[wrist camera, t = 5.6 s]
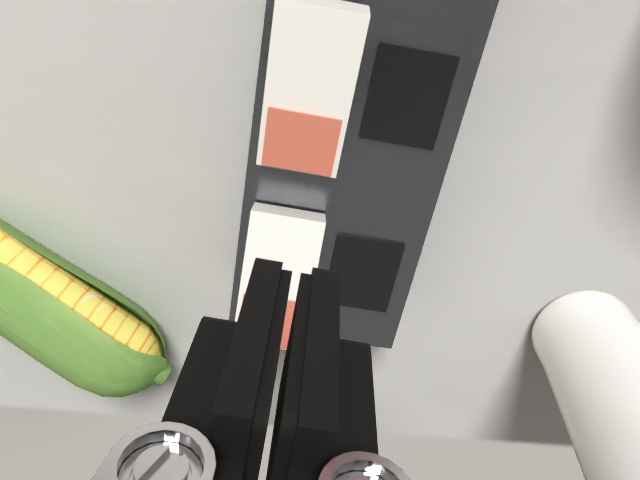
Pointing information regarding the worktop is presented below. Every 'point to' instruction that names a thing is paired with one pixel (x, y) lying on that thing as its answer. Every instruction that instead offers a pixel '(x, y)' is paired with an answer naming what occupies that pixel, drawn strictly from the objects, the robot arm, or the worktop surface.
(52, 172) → the worktop surface
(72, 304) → the edible corn
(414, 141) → the rocker switch panel
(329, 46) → the plate
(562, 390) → the drinking glass
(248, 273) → the block
